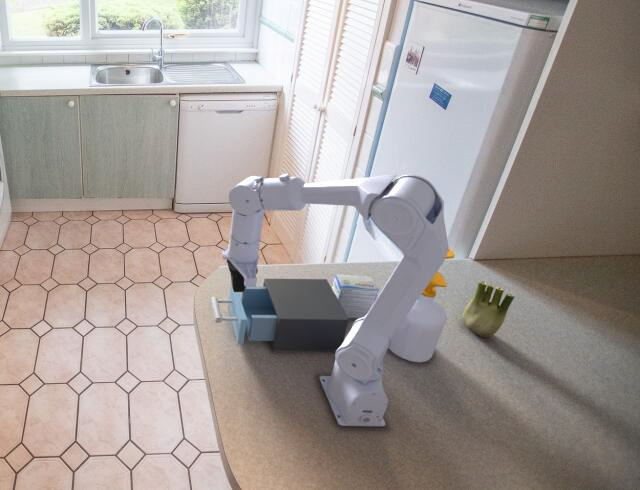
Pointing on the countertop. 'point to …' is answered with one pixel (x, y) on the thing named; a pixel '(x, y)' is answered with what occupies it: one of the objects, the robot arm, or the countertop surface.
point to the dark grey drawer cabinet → (306, 315)
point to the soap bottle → (421, 324)
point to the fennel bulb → (486, 310)
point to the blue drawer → (249, 314)
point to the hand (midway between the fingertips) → (238, 289)
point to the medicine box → (355, 294)
